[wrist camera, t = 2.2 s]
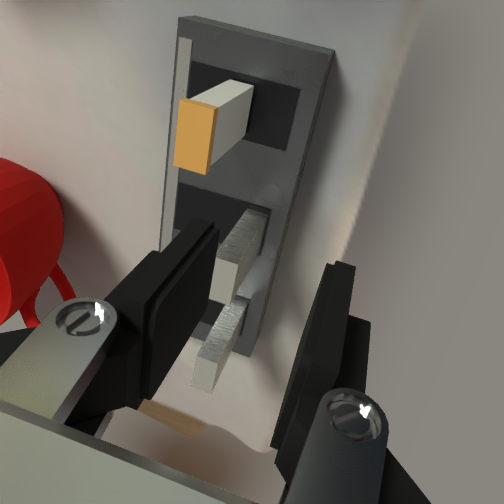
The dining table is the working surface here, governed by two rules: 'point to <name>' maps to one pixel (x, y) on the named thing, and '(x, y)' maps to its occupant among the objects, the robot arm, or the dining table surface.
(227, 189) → the breaker panel
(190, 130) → the handle
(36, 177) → the ceramic cup
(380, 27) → the dining table surface
